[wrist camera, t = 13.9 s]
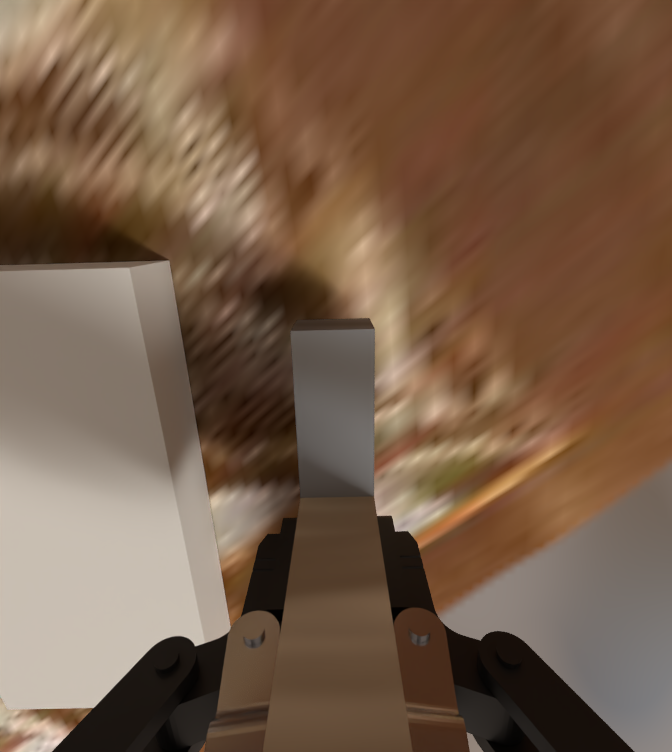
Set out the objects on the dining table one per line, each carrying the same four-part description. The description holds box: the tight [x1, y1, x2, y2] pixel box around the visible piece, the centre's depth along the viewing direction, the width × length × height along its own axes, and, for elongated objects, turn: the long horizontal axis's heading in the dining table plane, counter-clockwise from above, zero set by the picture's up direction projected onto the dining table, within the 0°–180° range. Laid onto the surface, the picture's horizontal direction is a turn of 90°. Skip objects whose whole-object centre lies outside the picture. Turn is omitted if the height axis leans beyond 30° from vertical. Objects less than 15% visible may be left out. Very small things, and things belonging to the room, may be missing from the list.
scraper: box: [263, 318, 413, 752], centre depth 11 cm, size 14×2×10 cm, turn 1°
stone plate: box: [0, 260, 231, 709], centre depth 17 cm, size 20×10×3 cm, turn 2°
